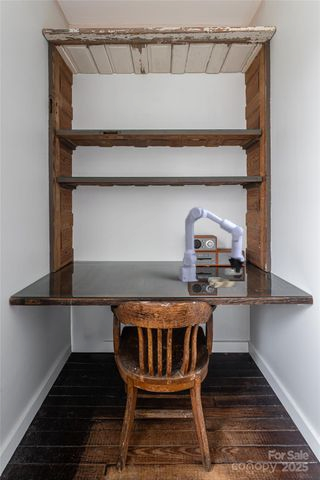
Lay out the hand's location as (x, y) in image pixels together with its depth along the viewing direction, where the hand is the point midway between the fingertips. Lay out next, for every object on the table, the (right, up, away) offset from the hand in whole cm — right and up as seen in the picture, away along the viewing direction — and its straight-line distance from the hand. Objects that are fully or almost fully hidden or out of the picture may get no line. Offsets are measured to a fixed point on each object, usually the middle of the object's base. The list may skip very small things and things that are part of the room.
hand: (235, 271), depth 177 cm
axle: (-2, 0, 0) cm, 2 cm away
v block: (-10, -7, +5) cm, 13 cm away
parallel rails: (-8, -7, -2) cm, 11 cm away
